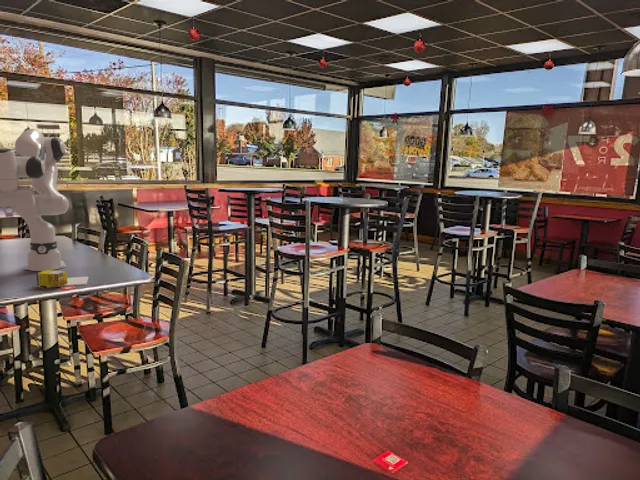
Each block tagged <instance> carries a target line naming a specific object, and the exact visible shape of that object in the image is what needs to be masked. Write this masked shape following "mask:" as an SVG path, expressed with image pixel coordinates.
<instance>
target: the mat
mask: <svg viewBox="0 0 640 480" xmlns="http://www.w3.org/2000/svg"><path fill="white" fill-rule="evenodd" d="M88 281H89V276H77V277H67V282H68V283H67V284H65V285H62V286H59V287H58V288H62V287H73V286H75V287H77V286H87V284H88ZM46 288H57V287H56V286H46Z"/></svg>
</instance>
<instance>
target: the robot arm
mask: <svg viewBox="0 0 640 480" xmlns="http://www.w3.org/2000/svg"><path fill="white" fill-rule="evenodd" d="M14 148H15V150H16V152H17V153H18V155H20V156H16V153H15V150H14V149H13V148H6V147H2V148H0V208H1V210H2V211H3V213H4V216H5V217H6V218H11V217H12V218H13V217H15V215H14V213H15V214H16V215H17V216H20V217H21V218H22V220H24V222H25V223H26V225H27V226H28V229H29V235H30V236H29V237H30V245H29V247H30V248H29V249H30V251H29V252H28V253H27V266H25V267H24V270H27V271H28V270H29V271H31V272H41V271H44V270H54V271H56V270H58V269H64V268H66V263H65V262H64V260H63V258H62V256H61V252H60V251H59V249H58V243H57V240H56V230H55V226H54V225H53V224H52V223H50V222H48V221H46V220H44V219H43V218H42V216H58V215H62V214H63V215H64V214H66V212H68V210H69V208H70V202H69V199H68V198H67V196H65V195H64V194H61V193H60V192H59V191H58V188H57V183H58V177H59V175H58V164H57V162H59V161H61V159H62V158H64V157H63V156H64V155H65V153H66V146H65V143H64V141H63V140H62V139H61V138H59V137H45V136H44V134H43V133H42V131H40V130H39V129H36V128H29V129H27V130H25V131H24V132H22V133H21V134H20V135H19V136H18V137H17V138H16V140H15V142H14ZM19 178H21V179H23V178H29V179H31V180H32V181H31V185H19ZM35 192H36V193H35ZM8 207H10V208H11V211H10V212H8V211H7V208H8Z"/></svg>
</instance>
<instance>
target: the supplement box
mask: <svg viewBox="0 0 640 480" xmlns="http://www.w3.org/2000/svg"><path fill="white" fill-rule="evenodd" d="M35 276H36V283H37V284H36V285H37V286H40V287H42V286H43V287H47V286H56V287H55V288H60V287H59V286H62V285H65V284H67V283H68V282H67V278H68V273H67V271H66V270H44V271H37V272H36V274H35Z"/></svg>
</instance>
